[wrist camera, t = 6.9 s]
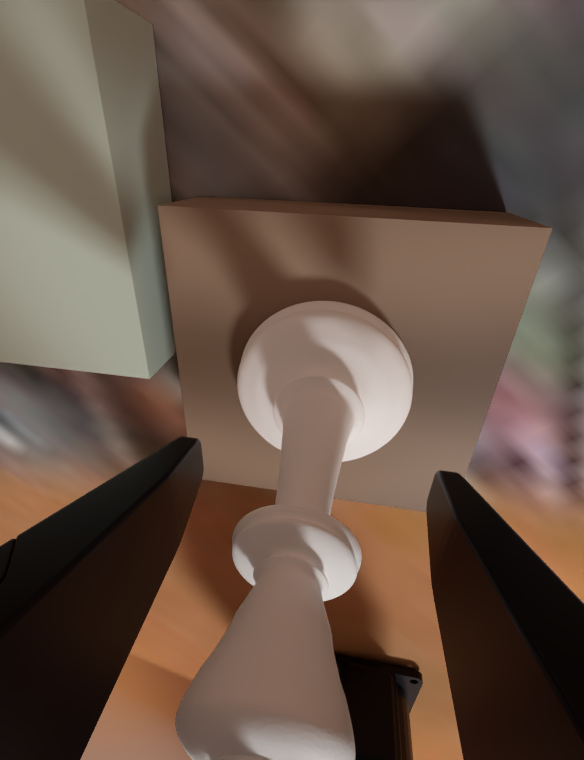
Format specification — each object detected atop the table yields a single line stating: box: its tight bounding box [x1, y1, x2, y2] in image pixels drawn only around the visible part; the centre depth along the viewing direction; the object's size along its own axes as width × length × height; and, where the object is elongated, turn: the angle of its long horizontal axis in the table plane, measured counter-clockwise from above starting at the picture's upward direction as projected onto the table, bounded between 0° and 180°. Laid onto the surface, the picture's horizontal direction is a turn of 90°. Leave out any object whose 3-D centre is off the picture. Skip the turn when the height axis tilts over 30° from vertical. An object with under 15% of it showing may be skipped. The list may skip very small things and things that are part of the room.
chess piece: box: [175, 301, 413, 760], centre depth 7 cm, size 5×5×10 cm
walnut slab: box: [158, 196, 552, 512], centre depth 12 cm, size 9×9×3 cm
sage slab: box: [0, 0, 176, 379], centre depth 12 cm, size 9×9×3 cm
